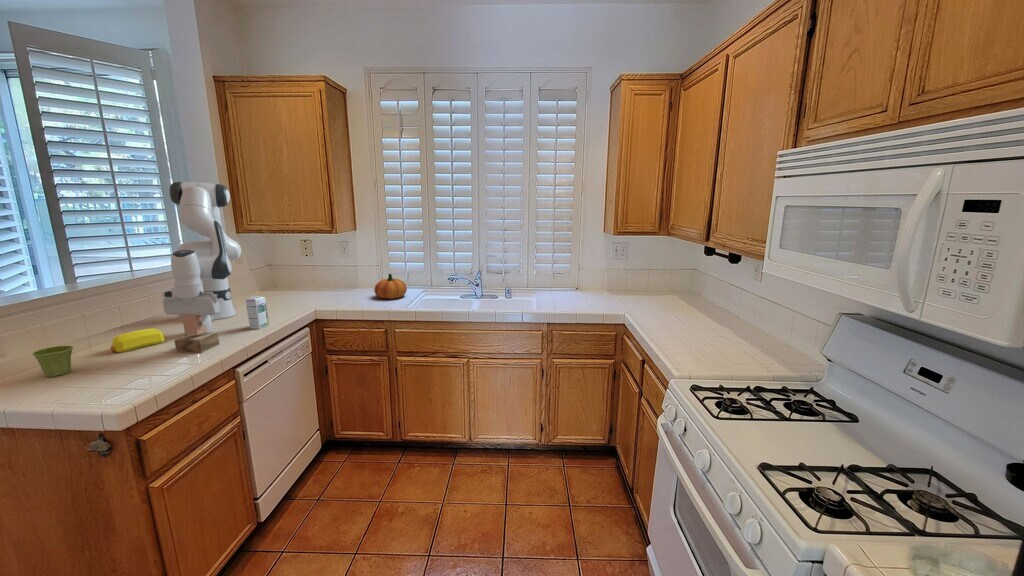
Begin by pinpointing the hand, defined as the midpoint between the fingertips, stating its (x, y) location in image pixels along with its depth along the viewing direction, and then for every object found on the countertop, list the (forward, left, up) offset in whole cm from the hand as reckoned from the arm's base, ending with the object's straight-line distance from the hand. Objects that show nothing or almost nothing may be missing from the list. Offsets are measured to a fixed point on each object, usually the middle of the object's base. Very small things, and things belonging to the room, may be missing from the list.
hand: (194, 325), depth 165 cm
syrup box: (+7, +29, -10) cm, 31 cm away
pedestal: (0, 0, -10) cm, 10 cm away
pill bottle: (-13, +19, -10) cm, 25 cm away
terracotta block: (0, 0, -3) cm, 3 cm away
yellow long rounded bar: (-25, +1, -10) cm, 27 cm away
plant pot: (-29, -26, -10) cm, 40 cm away
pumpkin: (+51, +93, -10) cm, 106 cm away
